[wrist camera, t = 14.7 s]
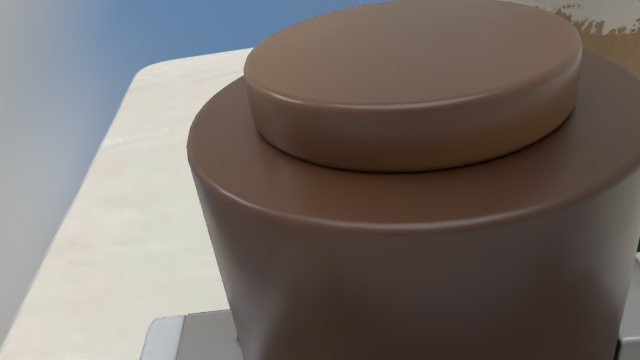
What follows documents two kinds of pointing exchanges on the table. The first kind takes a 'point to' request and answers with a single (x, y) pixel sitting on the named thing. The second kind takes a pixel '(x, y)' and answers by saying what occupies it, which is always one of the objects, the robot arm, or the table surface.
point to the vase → (601, 26)
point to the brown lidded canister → (424, 187)
